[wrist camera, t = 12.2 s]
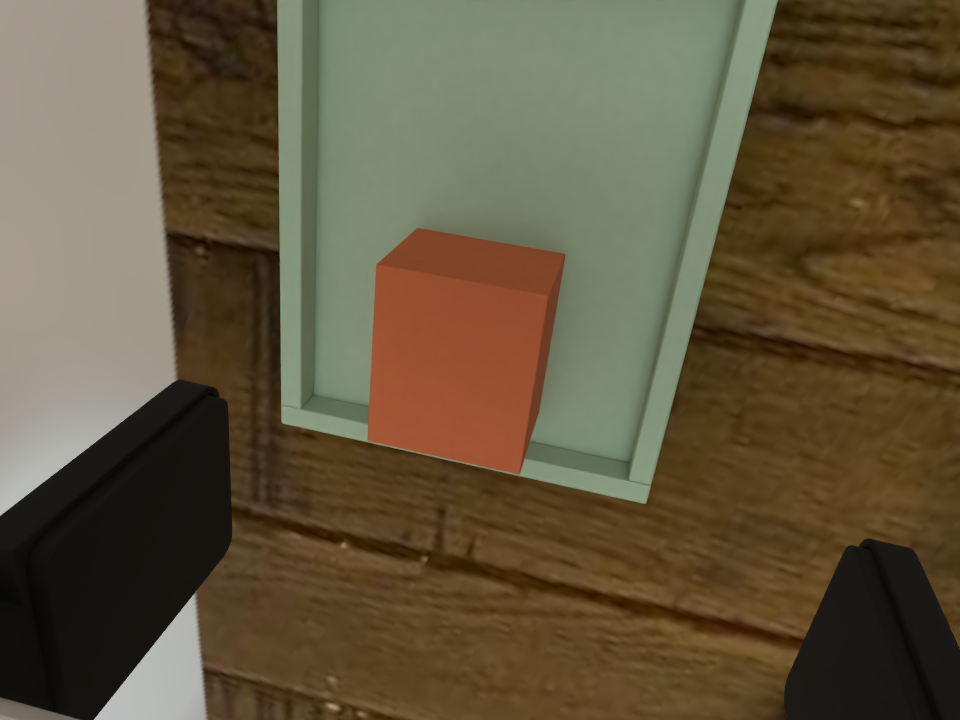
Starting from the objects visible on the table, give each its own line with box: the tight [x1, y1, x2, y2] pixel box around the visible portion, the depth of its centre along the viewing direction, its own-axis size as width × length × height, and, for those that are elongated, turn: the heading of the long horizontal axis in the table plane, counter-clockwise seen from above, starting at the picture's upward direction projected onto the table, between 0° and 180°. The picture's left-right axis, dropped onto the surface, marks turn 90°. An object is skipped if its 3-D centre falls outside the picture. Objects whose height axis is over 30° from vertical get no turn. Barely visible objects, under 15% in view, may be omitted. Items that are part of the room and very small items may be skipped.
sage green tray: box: [277, 0, 778, 504], centre depth 24 cm, size 17×14×2 cm
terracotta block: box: [367, 228, 565, 474], centre depth 24 cm, size 6×5×4 cm
